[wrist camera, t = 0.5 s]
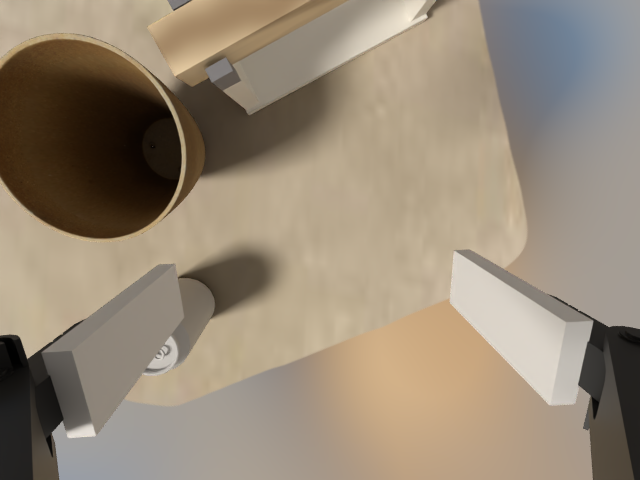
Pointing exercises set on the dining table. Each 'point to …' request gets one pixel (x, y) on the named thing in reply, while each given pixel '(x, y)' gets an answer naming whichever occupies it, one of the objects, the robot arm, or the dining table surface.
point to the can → (185, 327)
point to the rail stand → (313, 49)
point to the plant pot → (92, 139)
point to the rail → (228, 31)
